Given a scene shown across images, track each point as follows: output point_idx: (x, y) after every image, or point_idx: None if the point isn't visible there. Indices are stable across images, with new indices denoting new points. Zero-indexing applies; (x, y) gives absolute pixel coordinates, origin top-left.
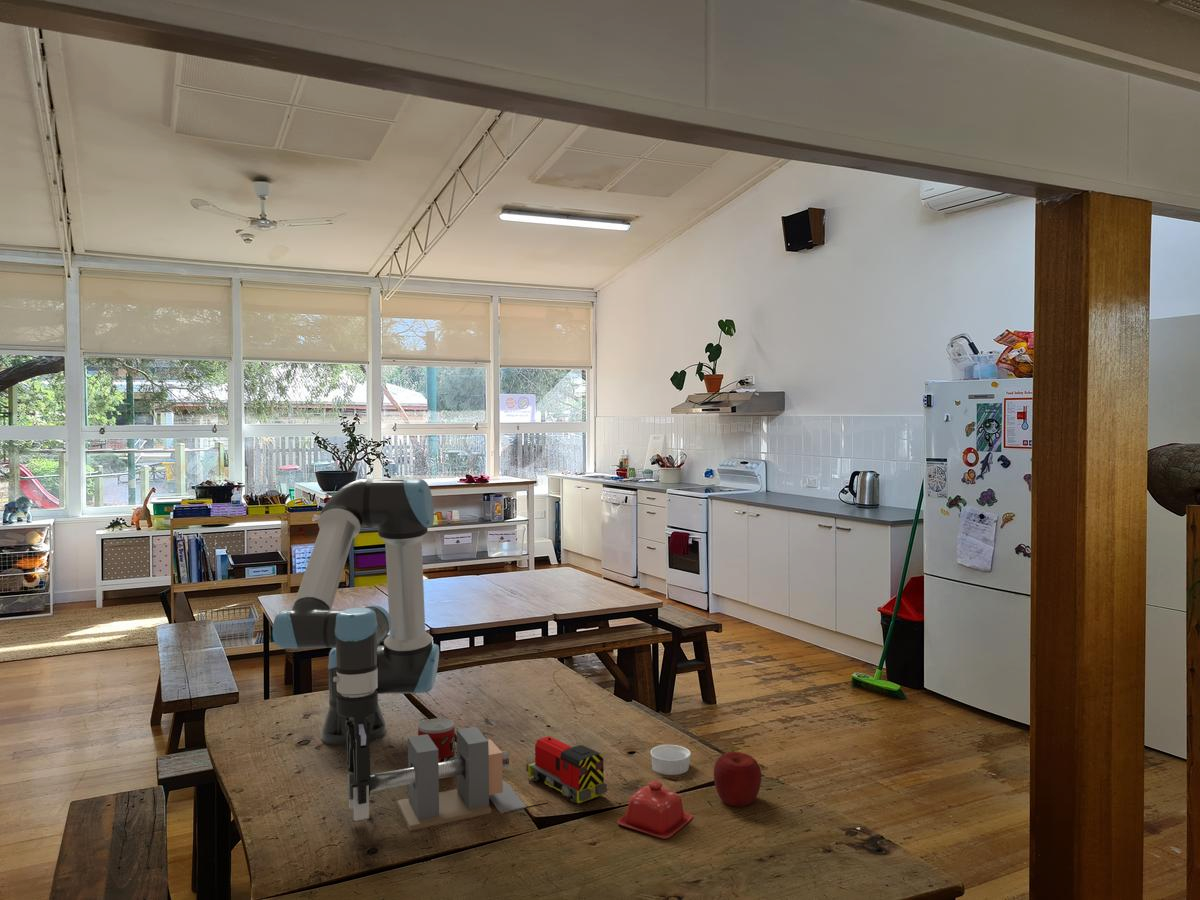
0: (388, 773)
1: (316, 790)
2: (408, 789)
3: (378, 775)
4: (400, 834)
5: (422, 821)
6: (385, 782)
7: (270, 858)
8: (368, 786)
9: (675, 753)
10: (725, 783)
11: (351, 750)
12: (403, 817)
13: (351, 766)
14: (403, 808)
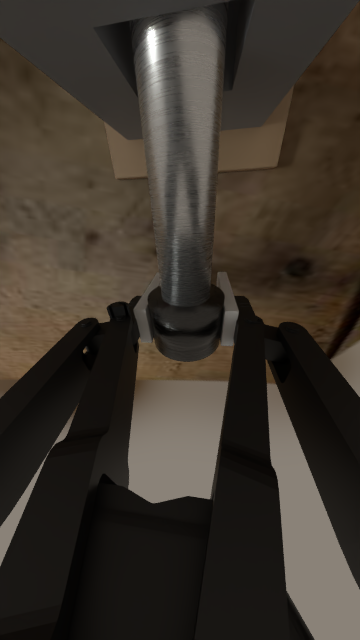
0: (191, 231)
1: (48, 314)
2: (114, 128)
3: (194, 274)
4: (272, 198)
5: (276, 110)
6: (212, 243)
7: (226, 373)
8: (236, 307)
9: None
10: None
11: (131, 412)
12: None
13: (137, 353)
14: None
